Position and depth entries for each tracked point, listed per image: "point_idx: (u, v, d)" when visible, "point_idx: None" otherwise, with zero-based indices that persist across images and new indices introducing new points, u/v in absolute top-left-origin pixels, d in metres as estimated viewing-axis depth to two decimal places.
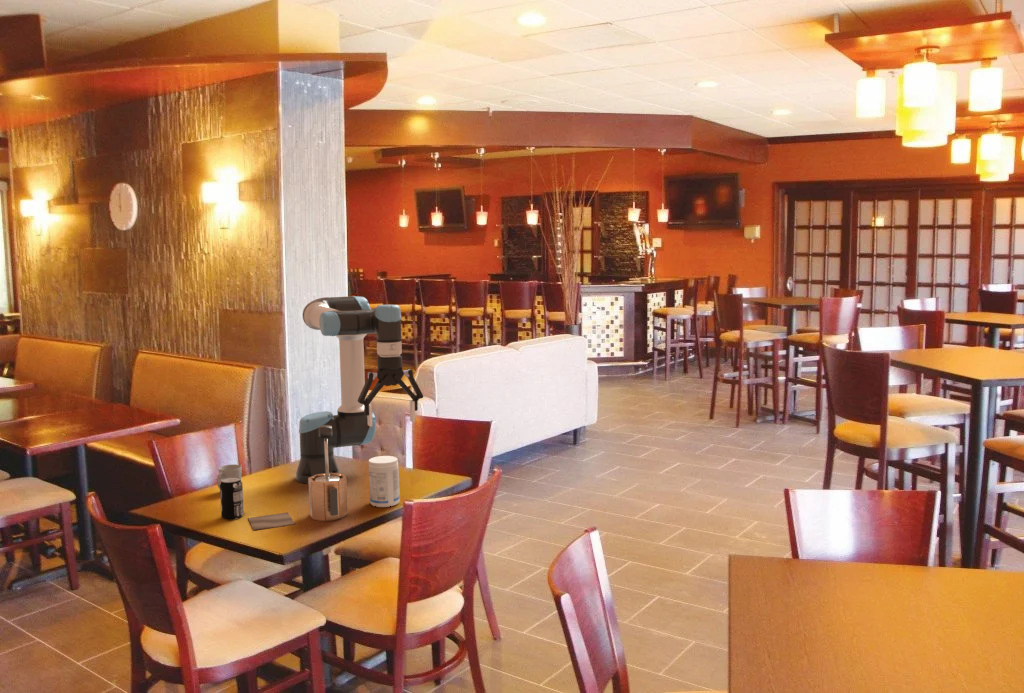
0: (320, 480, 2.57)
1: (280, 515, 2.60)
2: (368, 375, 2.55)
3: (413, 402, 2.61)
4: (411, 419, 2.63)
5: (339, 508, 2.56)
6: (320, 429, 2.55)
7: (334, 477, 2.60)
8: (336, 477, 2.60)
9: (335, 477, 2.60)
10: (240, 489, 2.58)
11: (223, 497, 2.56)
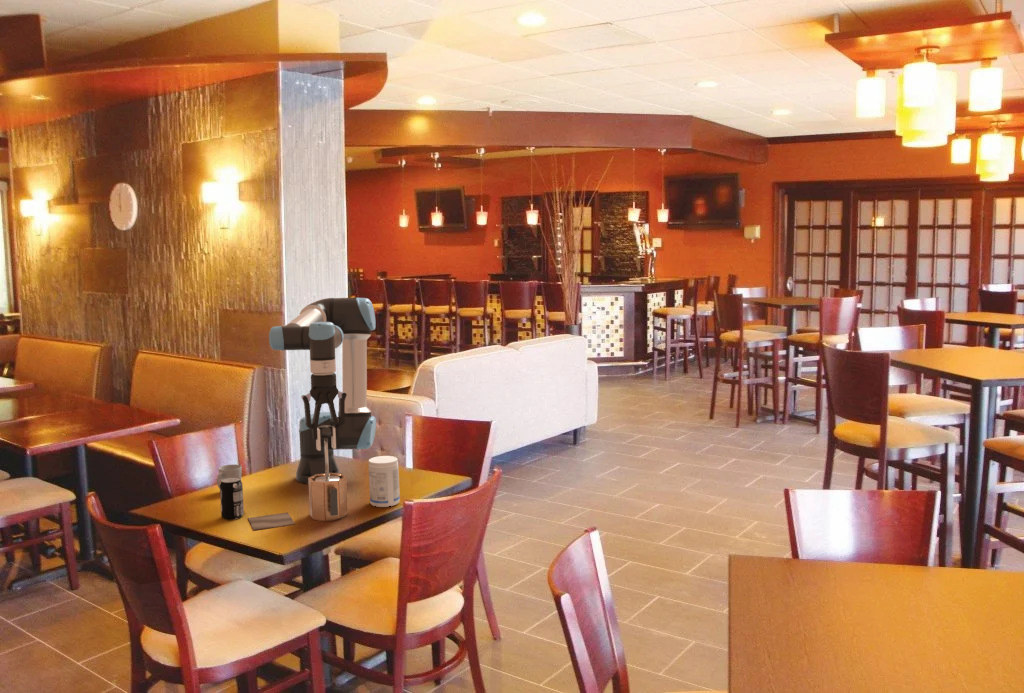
0: (320, 480, 2.57)
1: (280, 515, 2.60)
2: (303, 399, 2.53)
3: (334, 429, 2.57)
4: (332, 446, 2.58)
5: (339, 508, 2.56)
6: (320, 429, 2.55)
7: (334, 477, 2.60)
8: (336, 477, 2.60)
9: (335, 477, 2.60)
10: (240, 489, 2.58)
11: (223, 497, 2.56)
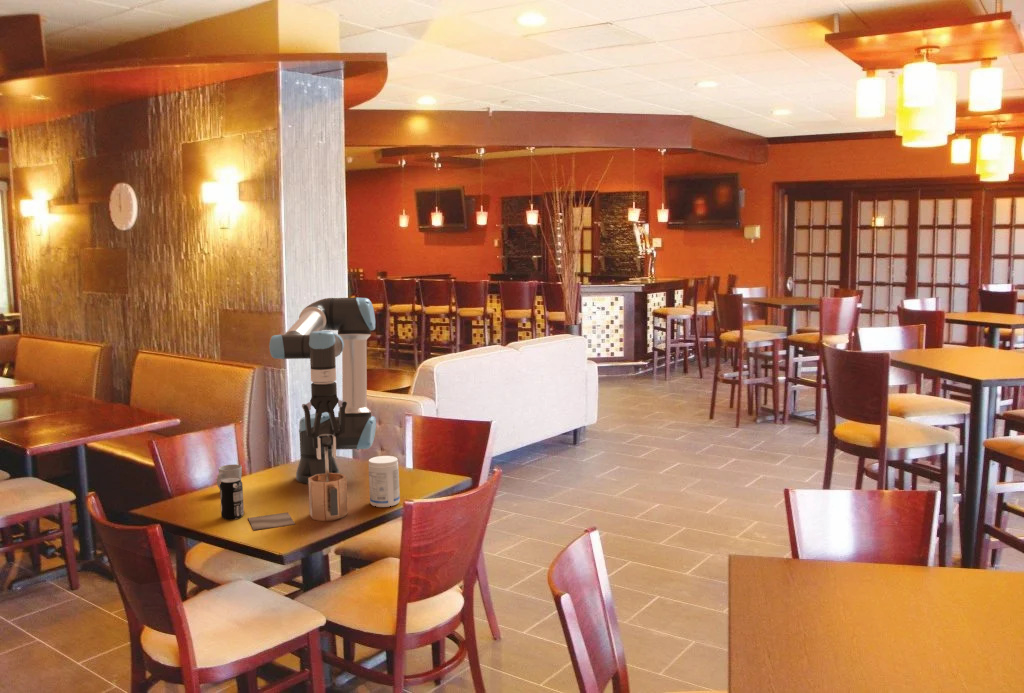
0: None
1: (280, 515, 2.60)
2: (303, 408, 2.53)
3: (334, 437, 2.57)
4: (332, 454, 2.59)
5: (339, 508, 2.56)
6: (320, 438, 2.56)
7: None
8: None
9: None
10: (240, 489, 2.58)
11: (223, 497, 2.56)
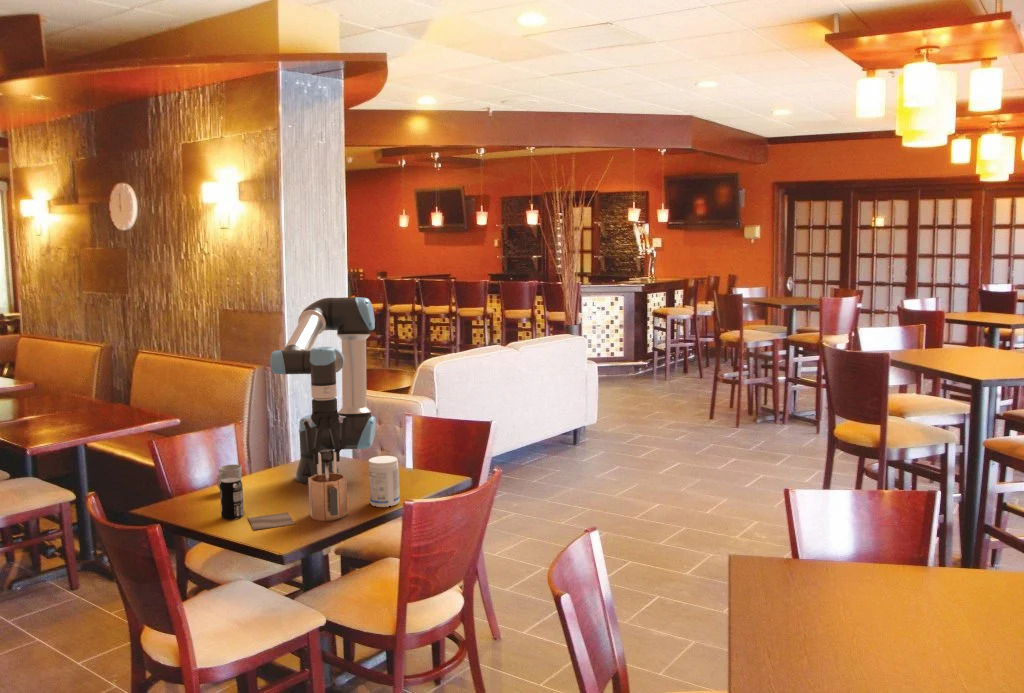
0: None
1: (280, 515, 2.60)
2: (304, 424, 2.54)
3: (334, 453, 2.58)
4: (333, 470, 2.59)
5: (339, 508, 2.56)
6: (321, 454, 2.56)
7: None
8: None
9: None
10: (240, 489, 2.58)
11: (223, 497, 2.56)
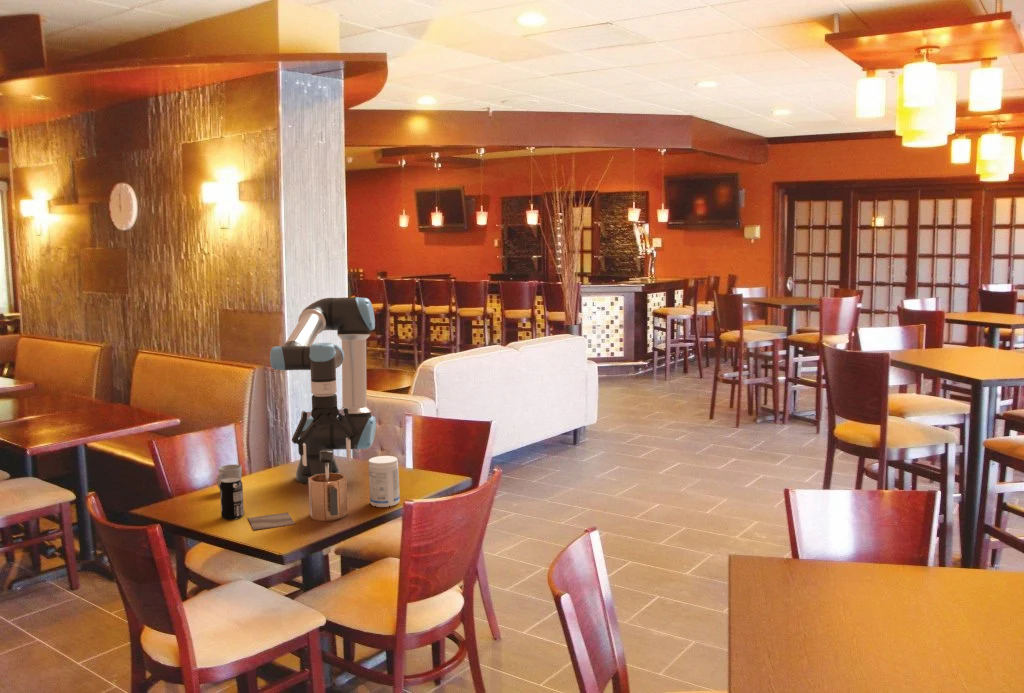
0: None
1: (280, 515, 2.60)
2: (302, 414, 2.54)
3: (349, 440, 2.59)
4: (347, 457, 2.61)
5: (339, 508, 2.56)
6: (321, 454, 2.56)
7: None
8: None
9: None
10: (240, 489, 2.58)
11: (223, 497, 2.56)
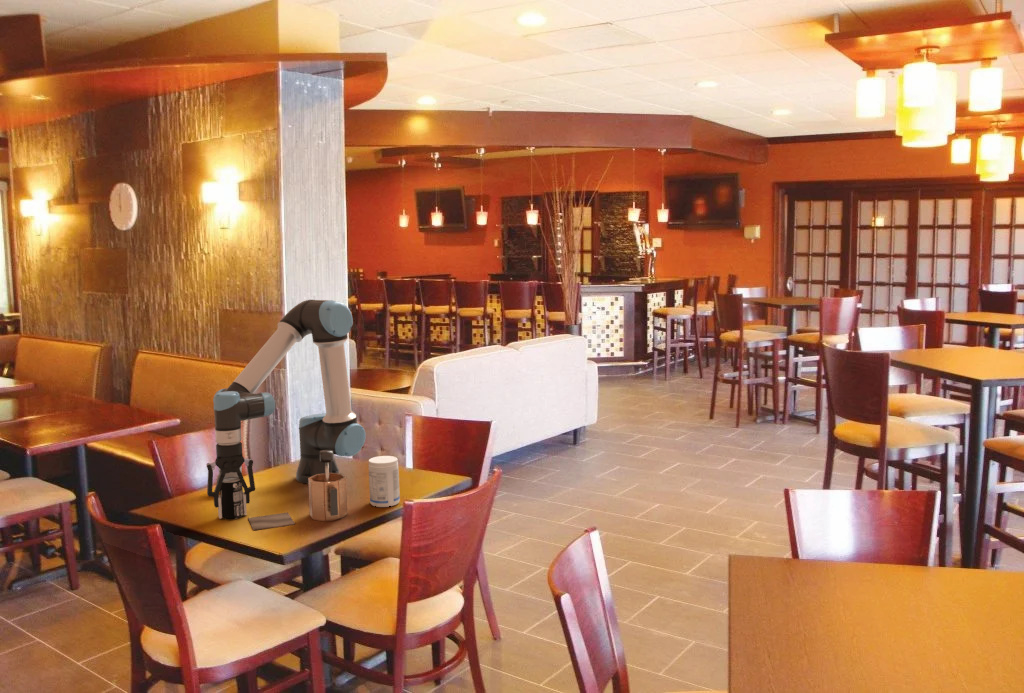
0: None
1: (280, 515, 2.60)
2: (207, 467, 2.55)
3: (244, 495, 2.59)
4: None
5: (339, 508, 2.56)
6: (321, 454, 2.56)
7: None
8: None
9: None
10: (240, 489, 2.58)
11: (223, 497, 2.56)
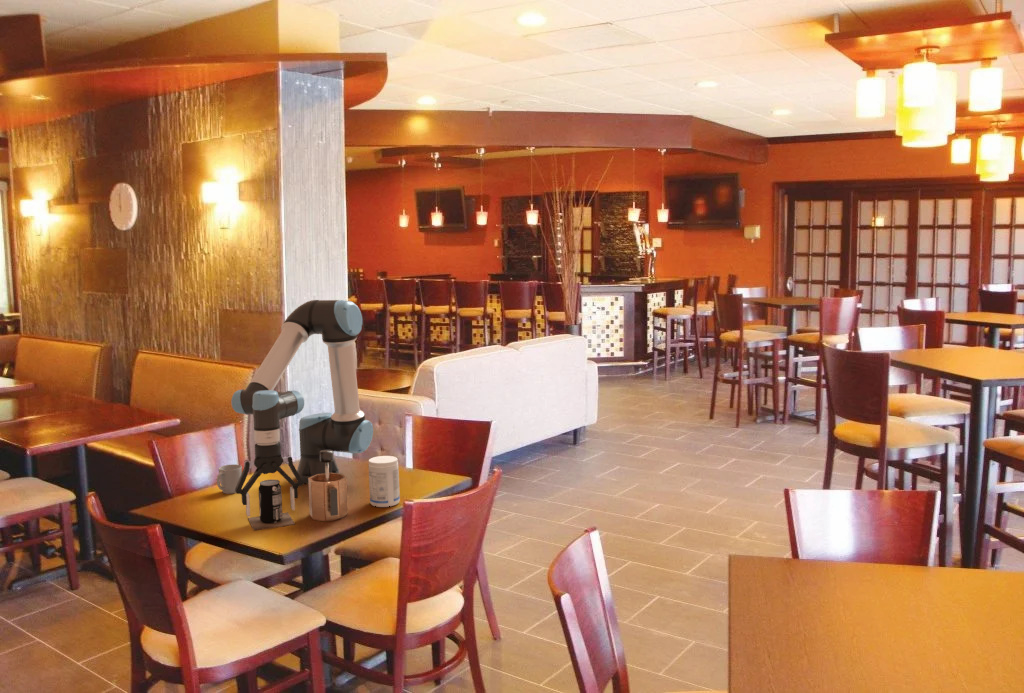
0: None
1: None
2: (244, 464, 2.50)
3: (292, 490, 2.56)
4: (291, 507, 2.57)
5: (339, 508, 2.56)
6: (321, 454, 2.56)
7: None
8: None
9: None
10: (279, 492, 2.53)
11: (262, 500, 2.51)
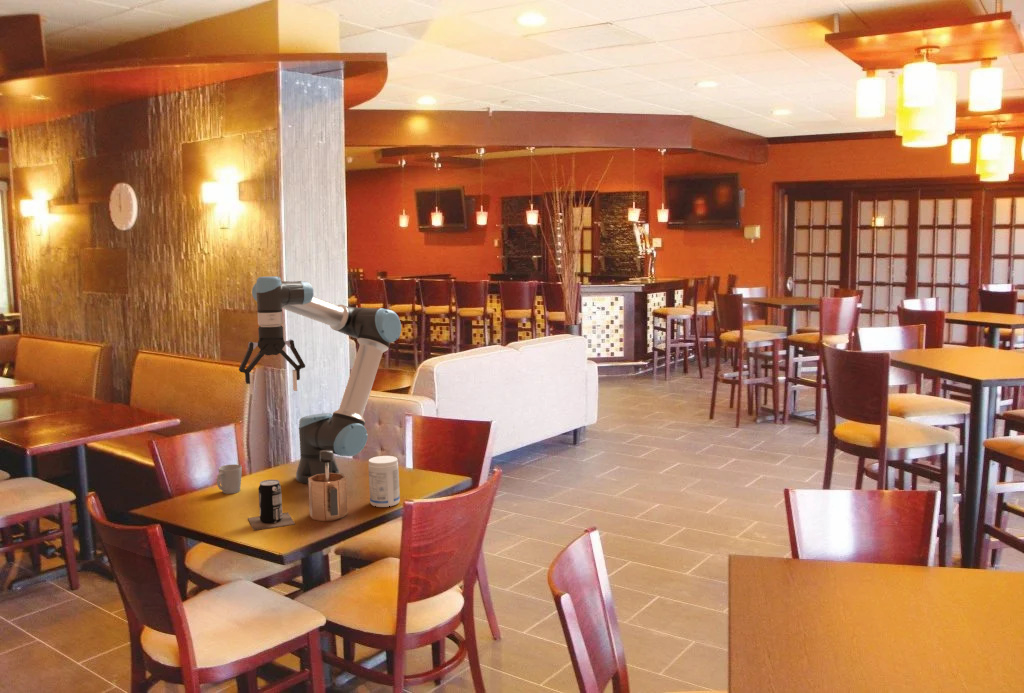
0: None
1: None
2: (248, 344, 2.63)
3: (295, 371, 2.69)
4: (294, 388, 2.71)
5: (339, 508, 2.56)
6: (321, 454, 2.56)
7: None
8: None
9: None
10: (279, 492, 2.53)
11: (262, 500, 2.51)
